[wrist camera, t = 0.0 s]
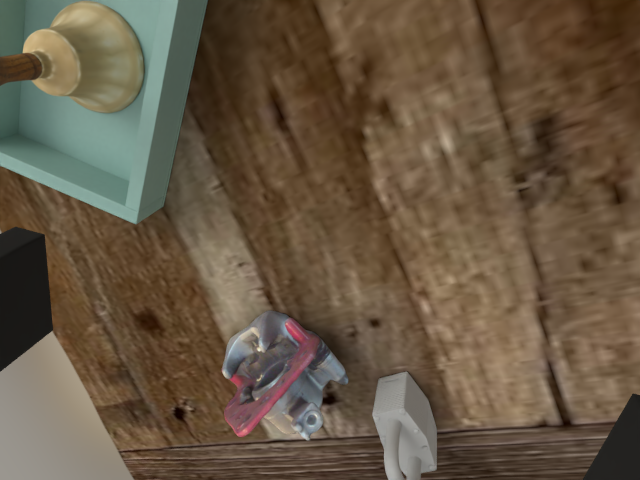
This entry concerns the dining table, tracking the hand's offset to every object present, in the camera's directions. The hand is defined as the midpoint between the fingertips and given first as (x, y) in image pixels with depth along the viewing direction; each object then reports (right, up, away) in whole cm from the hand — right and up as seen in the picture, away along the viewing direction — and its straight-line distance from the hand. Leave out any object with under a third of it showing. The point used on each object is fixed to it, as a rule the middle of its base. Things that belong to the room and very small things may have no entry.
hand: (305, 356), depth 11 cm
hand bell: (-17, +17, +28) cm, 37 cm away
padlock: (+9, -12, +35) cm, 38 cm away
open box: (-17, +17, +28) cm, 37 cm away
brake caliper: (-3, -8, +36) cm, 37 cm away
